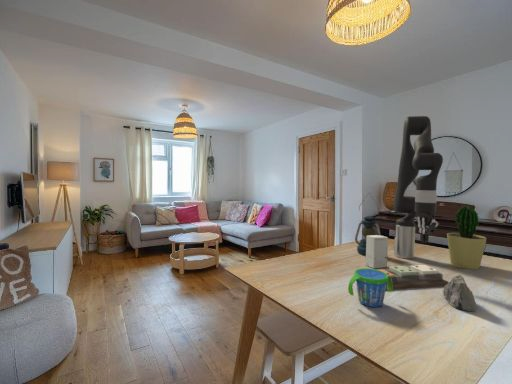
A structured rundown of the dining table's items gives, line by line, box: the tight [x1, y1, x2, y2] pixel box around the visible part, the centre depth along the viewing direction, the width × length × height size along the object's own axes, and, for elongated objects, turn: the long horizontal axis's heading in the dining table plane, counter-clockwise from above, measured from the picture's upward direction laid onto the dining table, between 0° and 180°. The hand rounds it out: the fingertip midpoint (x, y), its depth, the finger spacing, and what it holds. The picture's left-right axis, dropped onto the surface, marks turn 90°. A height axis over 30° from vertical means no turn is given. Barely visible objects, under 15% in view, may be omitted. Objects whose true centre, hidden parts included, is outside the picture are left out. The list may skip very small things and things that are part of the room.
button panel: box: [374, 268, 450, 291], centre depth 109 cm, size 14×30×4 cm, turn 100°
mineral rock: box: [442, 274, 477, 312], centre depth 90 cm, size 13×11×10 cm
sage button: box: [388, 265, 417, 276], centre depth 109 cm, size 7×7×2 cm
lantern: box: [354, 192, 382, 257], centre depth 149 cm, size 14×12×35 cm
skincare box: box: [365, 234, 389, 269], centre depth 128 cm, size 8×6×15 cm
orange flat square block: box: [378, 268, 394, 276], centre depth 107 cm, size 7×7×2 cm
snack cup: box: [347, 268, 394, 308], centre depth 89 cm, size 16×10×10 cm
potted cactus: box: [446, 205, 487, 270], centre depth 130 cm, size 15×15×30 cm
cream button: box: [409, 264, 439, 274], centre depth 111 cm, size 7×7×2 cm
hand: (424, 242), depth 110 cm, fingers closed
